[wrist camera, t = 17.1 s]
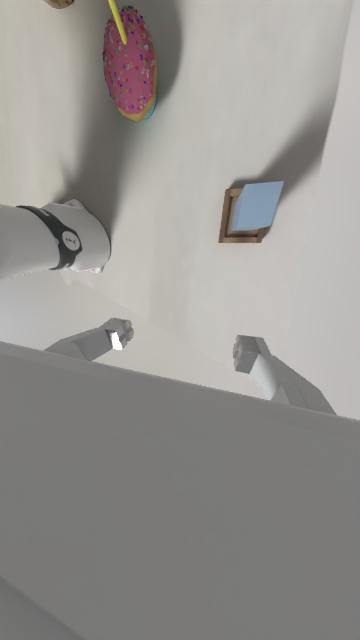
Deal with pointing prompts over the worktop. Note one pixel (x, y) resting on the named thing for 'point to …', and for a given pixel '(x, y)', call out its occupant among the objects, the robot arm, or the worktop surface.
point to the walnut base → (226, 222)
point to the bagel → (59, 3)
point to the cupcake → (130, 63)
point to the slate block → (256, 206)
